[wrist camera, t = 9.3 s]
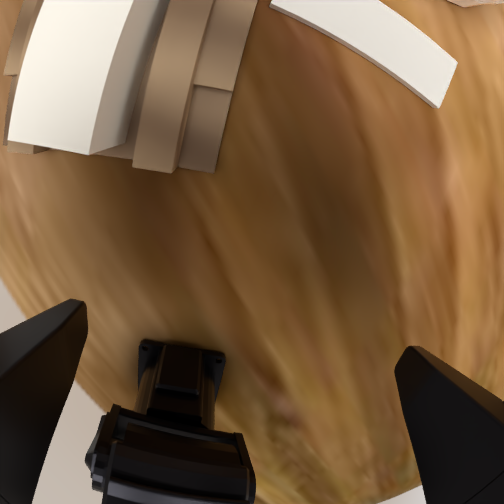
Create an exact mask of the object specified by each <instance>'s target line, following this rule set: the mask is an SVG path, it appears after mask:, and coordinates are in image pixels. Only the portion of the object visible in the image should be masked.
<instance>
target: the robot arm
mask: <svg viewBox="0 0 504 504" xmlns="http://www.w3.org/2000/svg"><path fill="white" fill-rule="evenodd" d="M87 334H88V320H87V307H86V303H85V302H84V301H80V300H76V299H68V300H66V301H64V302H62V303H60V304H58V305H56V306H54V307H52V308H50V309H48V310H46V311H44V312H42V313H40V314H38V315H36V316H34V317H32V318H30V319H28V320H26V321H24V322H22V323H20V324H18V325H16V326H14V327H12V328H10V329H8V330H7V331H4V332H2V333H1V334H0V504H32V501H33V497H34V494H35V489H36V487H37V483H38V480H39V476H40V473H41V470H42V467H43V464H44V460H45V457H46V454H47V451H48V448H49V446H50V443H51V440H52V437H53V434H54V431H55V428H56V426H57V423H58V420H59V418H60V415H61V413H62V410H63V407H64V405H65V402H66V400H67V397H68V394H69V392H70V389H71V387H72V384H73V381H74V378H75V374H76V371H77V367H78V364H79V361H80V357H81V354H82V351H83V348H84V344H85V341H86V338H87ZM144 346H147V347H148V348H146V347H144ZM217 359H221V360H217ZM225 362H226V357H225V355H224V354H223V353H218V352H212V351H205V350H199V349H193V348H187V347H181V346H175V345H170V344H164V343H159V342H154V341H149V340H142V341H141V342H140V345H139V358H138V395H137V399H136V403H135V408H134V411H132V410H128V409H125V408H122V407H121V406H119V405H116V404H113V406H112V408H111V411H110V412H107V414H106V415H102V417H101V421H100V424H99V427H98V430H97V433H96V436H95V438H94V440H93V442H92V444H91V446H90V448H89V449H88V451H87V453H86V457H85V463H86V465H87V466H88V468H89V469H90V471H91V478H92V489H93V490H96V491H99V492H103V499H102V504H254V500H255V493H256V478H255V473H254V470H253V467H252V464H251V460H250V457H249V454H248V451H247V448H246V445H245V441H244V438H243V435H242V433H235V432H234V433H228V432H222V431H216V430H214V412H215V401H216V397H217V393H218V389H219V385H220V382H221V378H222V374H223V370H224V366H225ZM394 373H395V378H396V382H397V387H398V392H399V396H400V401H401V406H402V411H403V415H404V419H405V422H406V426H407V429H408V433H409V436H410V440H411V443H412V447H413V451H414V454H415V458H416V462H417V466H418V470H419V474H420V478H421V482H422V486H423V490H424V495H425V500H426V504H504V401H502V400H501V399H500V398H498V397H497V396H495V395H494V394H492V393H491V392H489V391H488V390H486V389H485V388H483V387H481V386H480V385H478V384H477V383H475V382H474V381H472V380H471V379H469V378H468V377H466V376H465V375H463V374H462V373H460V372H459V371H457V370H456V369H454V368H453V367H451V366H450V365H448V364H447V363H445V362H443V361H442V360H440V359H439V358H437V357H436V356H434V355H433V354H431V353H430V352H428V351H427V350H425V349H424V348H422V347H420V346H408V347H407V348H406V349H405V351H404V352H403V354H402V356H401V357H400V359H399V361H398V362H397V364H396V366H395V370H394Z"/></svg>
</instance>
